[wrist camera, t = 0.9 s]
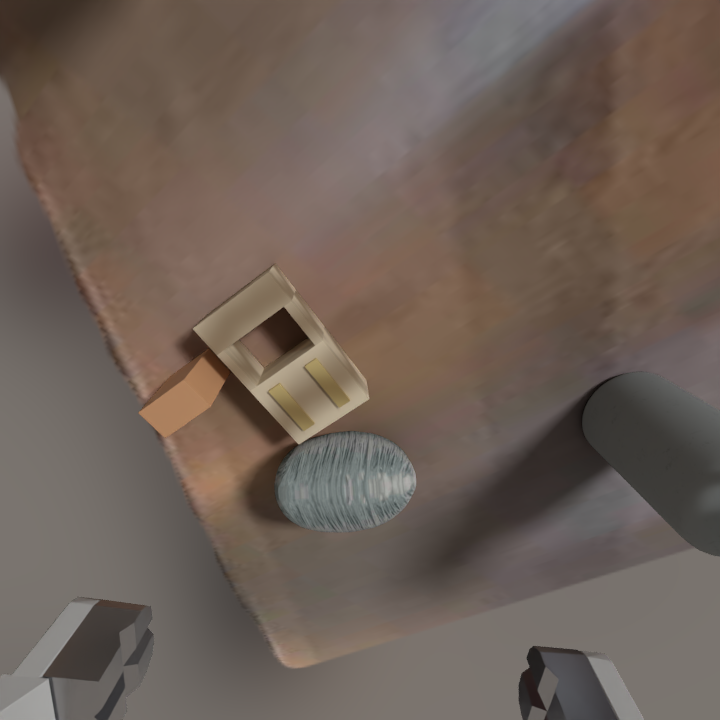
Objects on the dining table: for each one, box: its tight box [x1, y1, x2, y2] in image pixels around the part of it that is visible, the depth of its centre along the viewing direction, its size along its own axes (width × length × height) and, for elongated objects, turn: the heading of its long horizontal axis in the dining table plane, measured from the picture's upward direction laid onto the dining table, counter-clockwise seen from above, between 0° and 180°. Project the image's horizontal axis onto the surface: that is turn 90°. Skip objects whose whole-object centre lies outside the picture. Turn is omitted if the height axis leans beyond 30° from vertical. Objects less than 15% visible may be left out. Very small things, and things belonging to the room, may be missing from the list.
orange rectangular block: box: [138, 348, 231, 438], centre depth 37 cm, size 3×5×7 cm, turn 125°
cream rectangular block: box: [193, 264, 369, 444], centre depth 38 cm, size 14×8×4 cm, turn 35°
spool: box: [275, 431, 416, 532], centre depth 42 cm, size 14×10×10 cm
